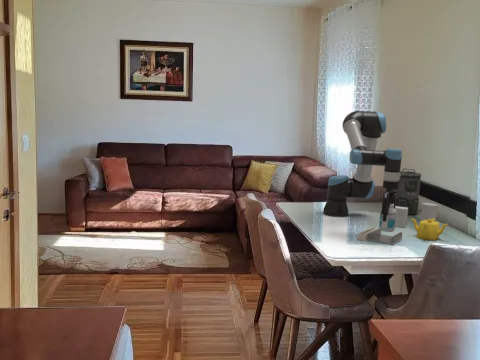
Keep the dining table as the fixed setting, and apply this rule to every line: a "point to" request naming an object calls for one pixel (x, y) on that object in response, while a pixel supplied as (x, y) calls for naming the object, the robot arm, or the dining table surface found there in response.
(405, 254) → the dining table surface
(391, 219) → the pill bottle
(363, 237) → the door edge
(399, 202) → the canister
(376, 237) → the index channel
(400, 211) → the small box
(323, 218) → the dining table surface
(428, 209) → the cup
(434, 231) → the teapot
